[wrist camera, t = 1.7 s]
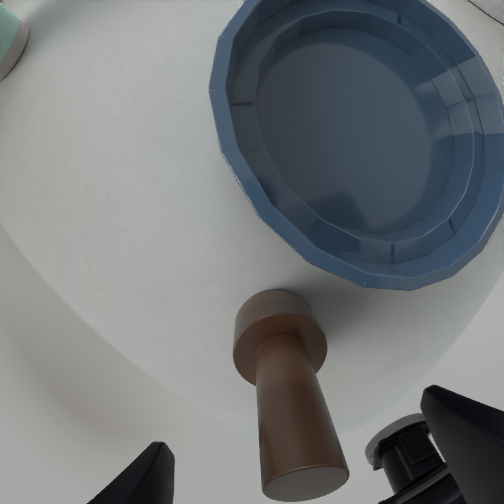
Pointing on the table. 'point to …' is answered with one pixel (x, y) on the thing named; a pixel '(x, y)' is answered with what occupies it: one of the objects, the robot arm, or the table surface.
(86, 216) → the table surface
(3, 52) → the coffee cup
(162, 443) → the robot arm
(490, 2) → the white wheel
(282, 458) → the muddler
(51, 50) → the table surface
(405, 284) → the bowl
